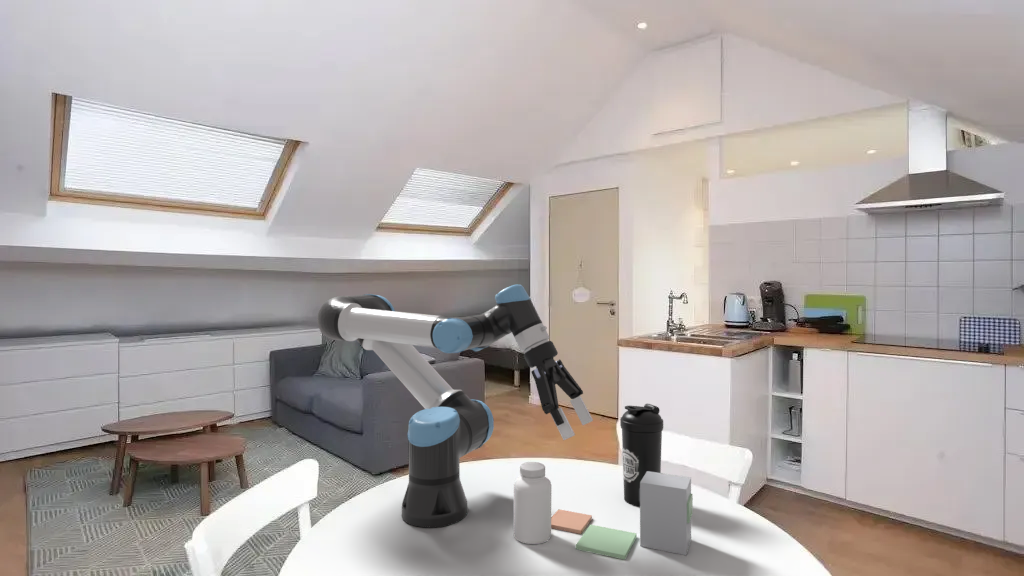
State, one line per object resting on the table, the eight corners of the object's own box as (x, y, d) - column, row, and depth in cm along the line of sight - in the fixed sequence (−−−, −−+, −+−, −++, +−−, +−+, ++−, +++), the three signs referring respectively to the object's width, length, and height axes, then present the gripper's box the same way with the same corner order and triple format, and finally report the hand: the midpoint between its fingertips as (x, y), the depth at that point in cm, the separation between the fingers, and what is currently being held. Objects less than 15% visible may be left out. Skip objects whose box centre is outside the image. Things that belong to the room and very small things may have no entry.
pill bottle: (549, 547, 112) (548, 473, 111) (510, 543, 113) (509, 471, 113) (553, 529, 120) (553, 460, 119) (517, 526, 121) (516, 458, 121)
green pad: (575, 549, 111) (575, 545, 111) (590, 528, 120) (590, 524, 120) (625, 559, 107) (625, 555, 107) (636, 537, 116) (636, 533, 116)
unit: (638, 545, 112) (638, 482, 112) (645, 531, 118) (645, 470, 118) (688, 555, 108) (688, 489, 108) (693, 540, 114) (693, 477, 114)
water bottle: (612, 495, 137) (612, 403, 137) (646, 489, 141) (646, 399, 141) (637, 511, 128) (636, 413, 127) (672, 504, 132) (672, 408, 131)
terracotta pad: (545, 527, 121) (545, 523, 121) (558, 512, 128) (558, 509, 128) (580, 534, 117) (580, 530, 117) (592, 518, 124) (592, 515, 124)
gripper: (528, 345, 117) (575, 437, 113) (567, 334, 140) (607, 411, 136) (501, 360, 120) (545, 451, 116) (543, 347, 143) (582, 423, 139)
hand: (579, 430), depth 126 cm, fingers open, 13 cm apart
